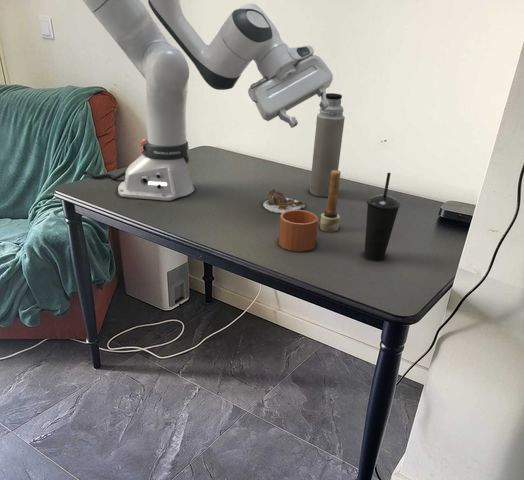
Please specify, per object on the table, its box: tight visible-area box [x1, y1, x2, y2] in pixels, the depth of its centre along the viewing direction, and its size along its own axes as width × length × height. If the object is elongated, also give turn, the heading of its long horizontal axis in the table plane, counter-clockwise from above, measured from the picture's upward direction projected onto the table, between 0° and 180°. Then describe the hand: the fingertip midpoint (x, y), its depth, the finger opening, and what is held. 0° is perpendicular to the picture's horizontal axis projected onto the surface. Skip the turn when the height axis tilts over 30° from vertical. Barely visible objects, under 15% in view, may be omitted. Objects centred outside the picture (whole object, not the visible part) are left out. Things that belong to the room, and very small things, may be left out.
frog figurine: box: [262, 188, 306, 214], centre depth 149 cm, size 12×12×4 cm
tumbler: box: [278, 209, 319, 252], centre depth 127 cm, size 9×9×7 cm
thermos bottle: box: [309, 92, 346, 198], centre depth 153 cm, size 8×8×28 cm
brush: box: [319, 169, 342, 233], centre depth 134 cm, size 5×5×15 cm
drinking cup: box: [363, 172, 402, 261], centre depth 120 cm, size 8×8×20 cm
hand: (310, 116), depth 126 cm, fingers open, 8 cm apart
